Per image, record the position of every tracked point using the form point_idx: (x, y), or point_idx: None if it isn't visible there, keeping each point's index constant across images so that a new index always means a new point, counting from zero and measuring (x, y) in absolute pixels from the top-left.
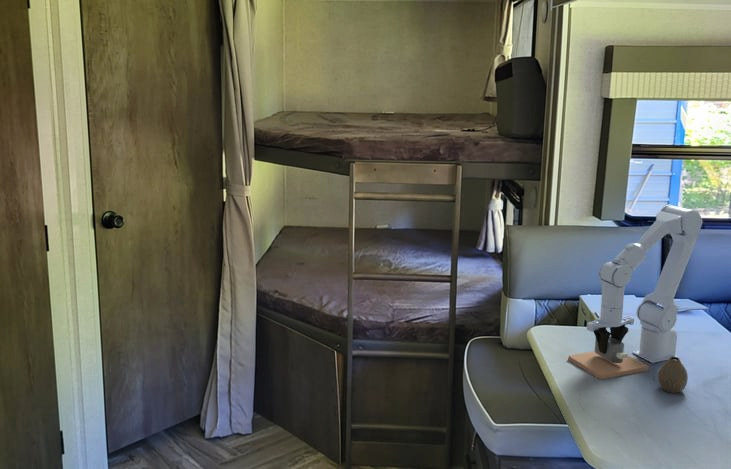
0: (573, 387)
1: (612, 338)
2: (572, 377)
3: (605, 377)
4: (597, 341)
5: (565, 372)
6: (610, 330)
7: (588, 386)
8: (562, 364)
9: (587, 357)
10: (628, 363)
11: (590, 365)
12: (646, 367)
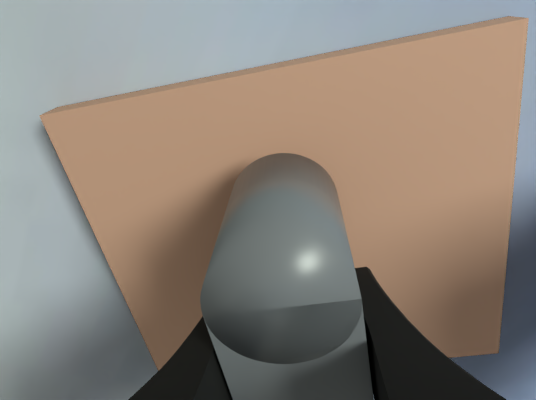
0: (20, 391)
1: (352, 379)
2: (34, 320)
3: None
4: (183, 346)
5: (5, 268)
6: (387, 392)
7: (90, 396)
8: (2, 171)
9: (179, 173)
10: (408, 303)
11: (151, 284)
12: (479, 349)
